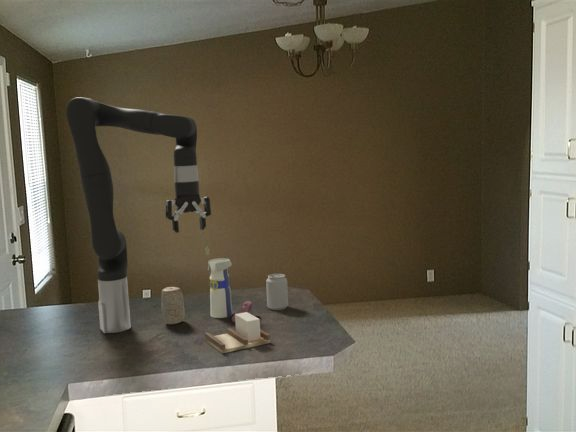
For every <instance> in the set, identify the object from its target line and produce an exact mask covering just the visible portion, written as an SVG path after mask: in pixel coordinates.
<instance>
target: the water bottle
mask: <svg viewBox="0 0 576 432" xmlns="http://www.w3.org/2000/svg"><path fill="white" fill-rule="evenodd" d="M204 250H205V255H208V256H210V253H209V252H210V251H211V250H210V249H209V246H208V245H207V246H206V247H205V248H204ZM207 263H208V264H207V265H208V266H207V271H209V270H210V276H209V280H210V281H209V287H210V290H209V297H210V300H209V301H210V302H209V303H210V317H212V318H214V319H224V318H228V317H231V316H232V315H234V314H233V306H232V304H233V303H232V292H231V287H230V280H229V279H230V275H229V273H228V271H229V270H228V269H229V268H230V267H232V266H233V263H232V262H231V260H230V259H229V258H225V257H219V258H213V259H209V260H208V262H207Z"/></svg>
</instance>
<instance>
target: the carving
mask: <svg viewBox="0 0 576 432" xmlns="http://www.w3.org/2000/svg"><path fill="white" fill-rule="evenodd" d="M160 299H161V301H160V302H161V304H160V305H161V312H162V317H163V319H164V322H165V324H166V325H176V324H179V323H182V322H183V321H184V319H185V316H186V315H185V304H184V297H183V292H182V290H181V288H180V287H177V286H169V287H168V286H167V287H165V288H163V289H162V290H161V298H160Z"/></svg>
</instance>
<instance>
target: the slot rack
mask: <svg viewBox="0 0 576 432" xmlns="http://www.w3.org/2000/svg"><path fill="white" fill-rule="evenodd" d="M260 338H261V339H256V340H252V341H248V339H247V338H245V337H243V336H242V335H240V334H239V333H237V332H236V330H234V329H233V328H231V327H229V328H226V333H222V334H217V335H213V334H212V333H210V332H204V341H205V342H206V343H208V344H209V345H210V346H211V347H213V348H214V349H215V350H216V351H218V352H219V353H220V354H227V353H231V352H234V351H236V352H237V351H240V350H245V349H249V348H254V347H257V346H261V345H268V344H270V343H271V335H270V333H268V332H266V331H265V330H263V329H261V328H260Z"/></svg>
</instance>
